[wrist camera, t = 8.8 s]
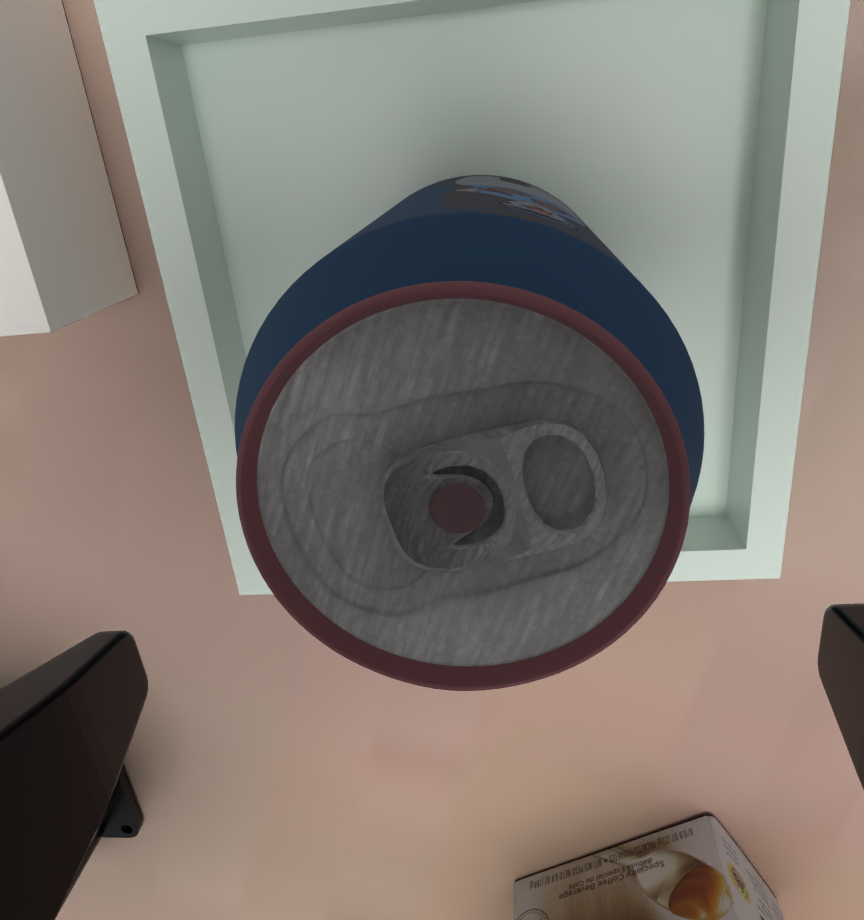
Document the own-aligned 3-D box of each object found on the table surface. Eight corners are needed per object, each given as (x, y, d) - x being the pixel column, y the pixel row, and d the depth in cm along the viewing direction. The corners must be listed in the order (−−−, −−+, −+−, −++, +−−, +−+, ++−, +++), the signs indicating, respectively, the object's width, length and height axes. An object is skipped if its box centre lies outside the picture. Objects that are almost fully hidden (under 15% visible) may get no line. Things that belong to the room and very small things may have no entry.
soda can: (400, 446, 22) (302, 758, 11) (320, 217, 19) (88, 328, 8) (628, 389, 20) (776, 679, 10) (576, 134, 18) (697, 137, 7)
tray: (752, 534, 23) (779, 578, 20) (262, 553, 24) (239, 595, 22) (815, -84, 16) (864, -118, 14) (140, 6, 18) (90, -12, 16)
